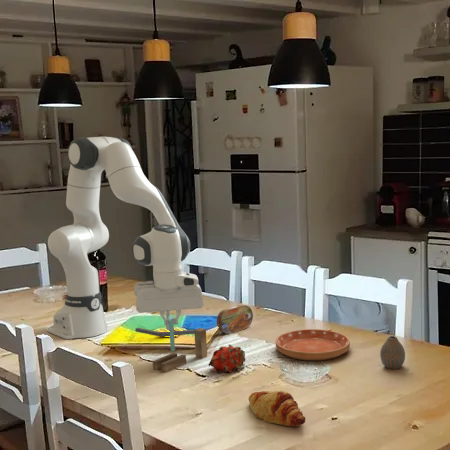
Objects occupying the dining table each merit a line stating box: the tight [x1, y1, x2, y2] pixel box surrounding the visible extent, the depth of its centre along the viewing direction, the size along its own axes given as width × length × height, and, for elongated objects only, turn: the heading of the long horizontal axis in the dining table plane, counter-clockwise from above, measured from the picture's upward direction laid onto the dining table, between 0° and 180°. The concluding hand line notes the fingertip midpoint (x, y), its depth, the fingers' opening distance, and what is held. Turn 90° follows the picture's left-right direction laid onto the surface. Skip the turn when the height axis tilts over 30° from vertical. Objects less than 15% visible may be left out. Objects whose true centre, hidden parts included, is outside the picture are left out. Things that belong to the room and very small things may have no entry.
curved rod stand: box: [135, 327, 208, 359], centre depth 212 cm, size 21×12×10 cm, turn 52°
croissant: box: [248, 390, 306, 428], centre depth 167 cm, size 21×10×8 cm, turn 34°
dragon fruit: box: [208, 344, 246, 374], centre depth 199 cm, size 8×8×12 cm
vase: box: [379, 335, 406, 370], centre depth 197 cm, size 7×7×9 cm
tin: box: [216, 304, 254, 335], centre depth 239 cm, size 15×3×8 cm, turn 131°
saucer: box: [275, 328, 351, 361], centre depth 215 cm, size 23×23×4 cm
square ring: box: [169, 315, 176, 352], centre depth 208 cm, size 1×8×8 cm, turn 6°
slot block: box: [152, 352, 187, 373], centre depth 203 cm, size 5×9×4 cm, turn 142°
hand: (171, 324), depth 208 cm, fingers closed on square ring, 1 cm apart
